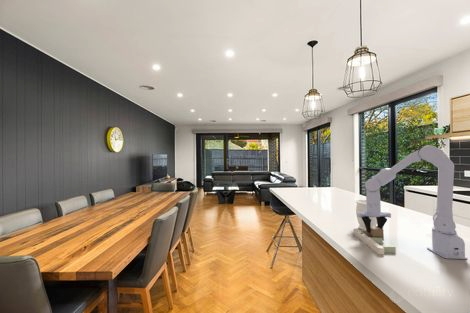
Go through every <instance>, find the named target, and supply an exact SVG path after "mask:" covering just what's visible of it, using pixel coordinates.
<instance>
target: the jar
mask: <svg viewBox="0 0 470 313" xmlns="http://www.w3.org/2000/svg"><path fill="white" fill-rule="evenodd" d="M355 203H356V206H355V207H356V208H355V214H356V215H355V216H356V220H357V223H358V225H359V226H358V229H359V230H366V226H365V224H364V222H363V220H362V218H361V217H357V212H367V206H366V199H358V200H355ZM369 218H370V219H371V224H370V225H376V226H377V219H376V217H369Z"/></svg>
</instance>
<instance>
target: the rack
mask: <svg viewBox="0 0 470 313" xmlns="http://www.w3.org/2000/svg"><path fill="white" fill-rule="evenodd" d="M352 231H353V235H354V236H356V237H357V238H358V239H360V241H361V242H362V243H364V244H366V245H367V246H368V247H369V248H370V249H371V250H373V251H374V252H375V253H376V254H378V255H379V256H380V255H382V256H384V255H385V253H386V254H387V253H390V254H397V253H396V252H397V250H396V249H397V248H396V246H395V245H381V244H384V242H383V238H377V237H368V236H367V235H366V230H362V229H360V228H353V230H352Z"/></svg>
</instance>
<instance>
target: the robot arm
mask: <svg viewBox="0 0 470 313" xmlns="http://www.w3.org/2000/svg"><path fill="white" fill-rule="evenodd" d="M422 160H423V161H426V162H429V163H431V164H432V165H433V166H435V168H437V169H438V171H437V172H438V173H437V189H436V190H437V195H436V210H435V213H434V215H433V216H432V220H433V226H432V227H431V242H432V243H431V246H427V247H426V249H427V250H428V251H431V252H433V253H435V254H437V255H438V256H440V257H441V258H443V259H449V260H450V259H455V260H456V259H457V260H468V257H467V256H466V248H465V247H466V244H465V240H464V239H463V237H461V236H460V235H459V234H458V233H457V230H456V228H457V227H456V226H457V225H456V222H455V221H454V218H453V217H454V215H453V204H454V203H453V201H454V200H453V199H454V198H453V197H454V178H455V177H454V176H455V164H454V162H453V161H452V160H451V159H450V158H449V157H448V155H447V154H446V152H444V151H443V150H442V149H440V148H439V147H437V146H435V145H425V146H422V147H421V148H420V149H418V150H415V151H413V152H412V153H409V154H408V155H406V156H405V157H404V158H403V159H401V160H400V161H398V162H397V163H395V165H393V166H392V167H391V168H390V167H389V168H388V167H385V168H381V169H380V170H379V172H378V173H377V174H375V175H372V176H371V178H368V179H367V180H366V181H365V183H364V187H365V189H366V190H365V191H366V194H365V195H366V196H365V197H366V198H365V200H366V206H367V212H357V215H356V218H357V217H361V218H362V220H363V222H364V224H365V226H366V230H367V232H368V233H370V224H371V219H370V218H369V217H376V219H377V225H376V226H378V227H380V228H381V229H383V230H384V226H385V224H386V223H387V221H388V219H389V218H392V213H391V212H385V211H383V212H382V209H381V208H382V207H381V206H382V204H381V194H380V193H381V192H380V191H381V190H380V188H382V187H383V186H385V185H386V184H387V185H388V183H390V182H392V181H393V180H394V179H396V177H397V173H399V172H400V171H402V170H403V169H405V168H407V167H408V166H410V165H411V164H413V163H417V162H418V163H419V162H422ZM381 186H382V187H381ZM387 218H388V219H387Z"/></svg>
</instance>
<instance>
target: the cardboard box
mask: <svg viewBox="0 0 470 313" xmlns="http://www.w3.org/2000/svg"><path fill="white" fill-rule="evenodd" d="M366 235H367V236H368V237H377V238H383V241H385V239H384V238H385V236H384V228H383V229H381V228H380V227H378V226H377V225H370V233H368V232H367V230H366Z"/></svg>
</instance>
